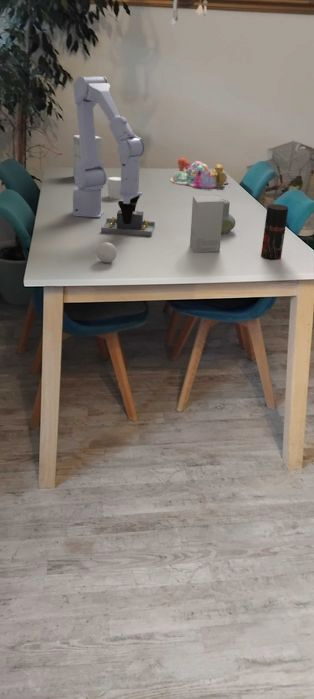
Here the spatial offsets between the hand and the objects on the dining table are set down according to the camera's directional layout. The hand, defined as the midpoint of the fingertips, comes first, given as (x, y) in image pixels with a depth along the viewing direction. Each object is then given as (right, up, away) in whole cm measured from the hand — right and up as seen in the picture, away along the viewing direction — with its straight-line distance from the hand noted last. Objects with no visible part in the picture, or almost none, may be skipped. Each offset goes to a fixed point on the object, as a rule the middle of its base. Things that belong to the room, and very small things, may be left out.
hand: (128, 220), depth 207 cm
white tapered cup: (-7, +16, +37) cm, 41 cm away
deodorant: (+43, -14, -15) cm, 48 cm away
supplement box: (-20, +30, +62) cm, 72 cm away
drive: (0, -2, +1) cm, 2 cm away
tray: (0, -3, +1) cm, 3 cm away
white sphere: (-6, -17, -27) cm, 32 cm away
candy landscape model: (+27, +29, +67) cm, 78 cm away
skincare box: (+23, -11, -12) cm, 29 cm away
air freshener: (+29, -3, +5) cm, 30 cm away
